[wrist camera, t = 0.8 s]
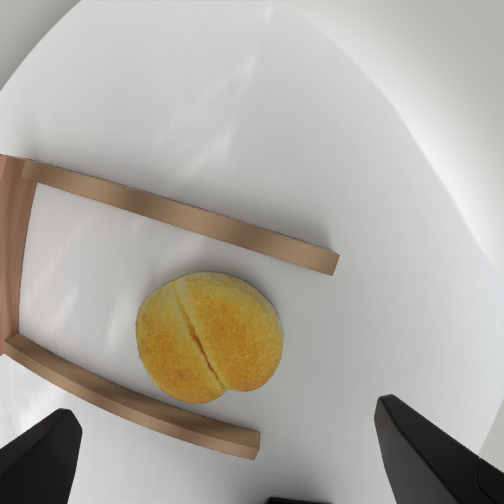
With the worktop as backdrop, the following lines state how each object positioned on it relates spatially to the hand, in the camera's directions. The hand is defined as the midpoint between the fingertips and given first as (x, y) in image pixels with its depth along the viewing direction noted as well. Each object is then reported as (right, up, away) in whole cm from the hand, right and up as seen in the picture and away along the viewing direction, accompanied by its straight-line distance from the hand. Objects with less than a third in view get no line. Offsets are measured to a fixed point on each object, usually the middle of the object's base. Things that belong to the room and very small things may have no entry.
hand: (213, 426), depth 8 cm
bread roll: (-2, -1, +13) cm, 13 cm away
